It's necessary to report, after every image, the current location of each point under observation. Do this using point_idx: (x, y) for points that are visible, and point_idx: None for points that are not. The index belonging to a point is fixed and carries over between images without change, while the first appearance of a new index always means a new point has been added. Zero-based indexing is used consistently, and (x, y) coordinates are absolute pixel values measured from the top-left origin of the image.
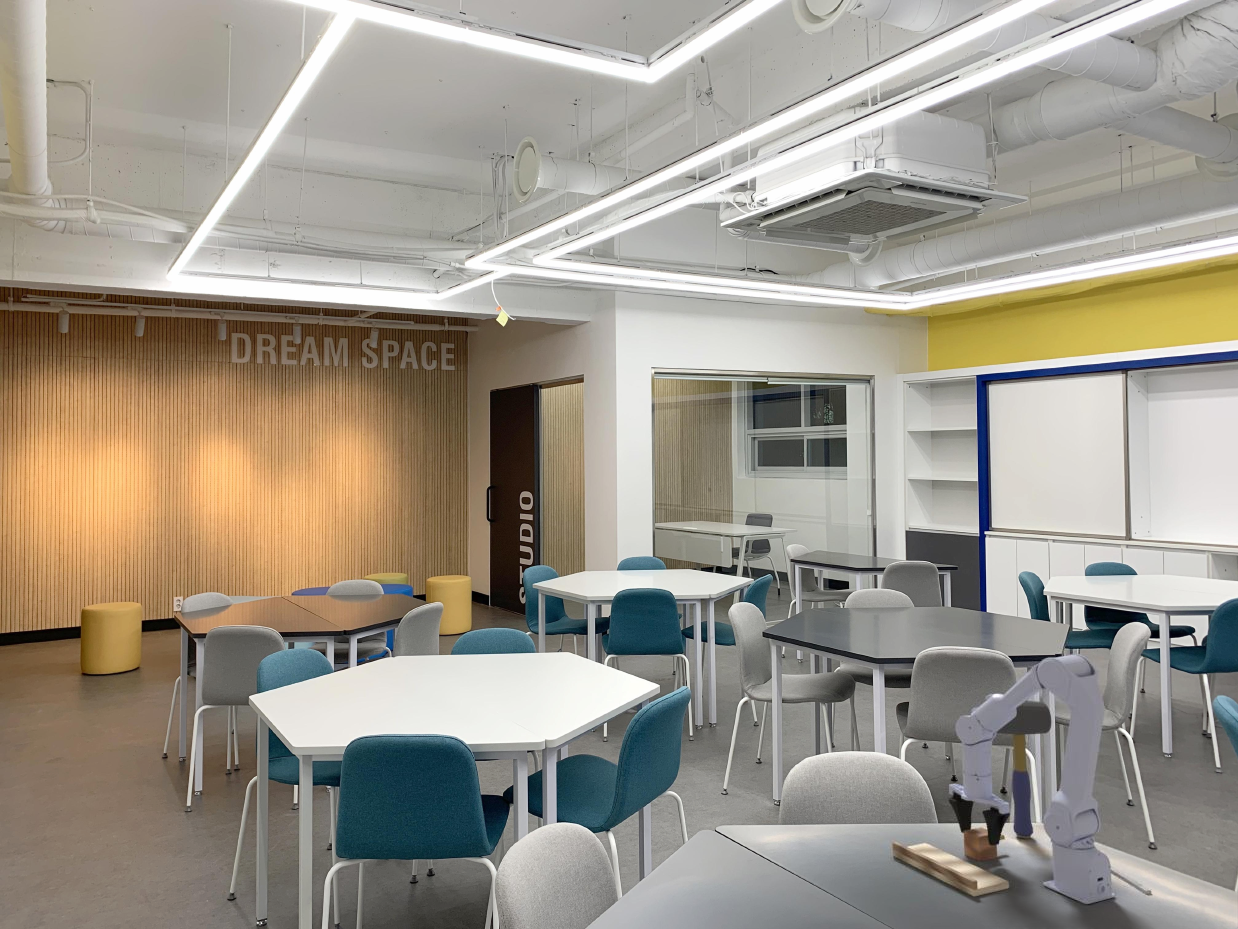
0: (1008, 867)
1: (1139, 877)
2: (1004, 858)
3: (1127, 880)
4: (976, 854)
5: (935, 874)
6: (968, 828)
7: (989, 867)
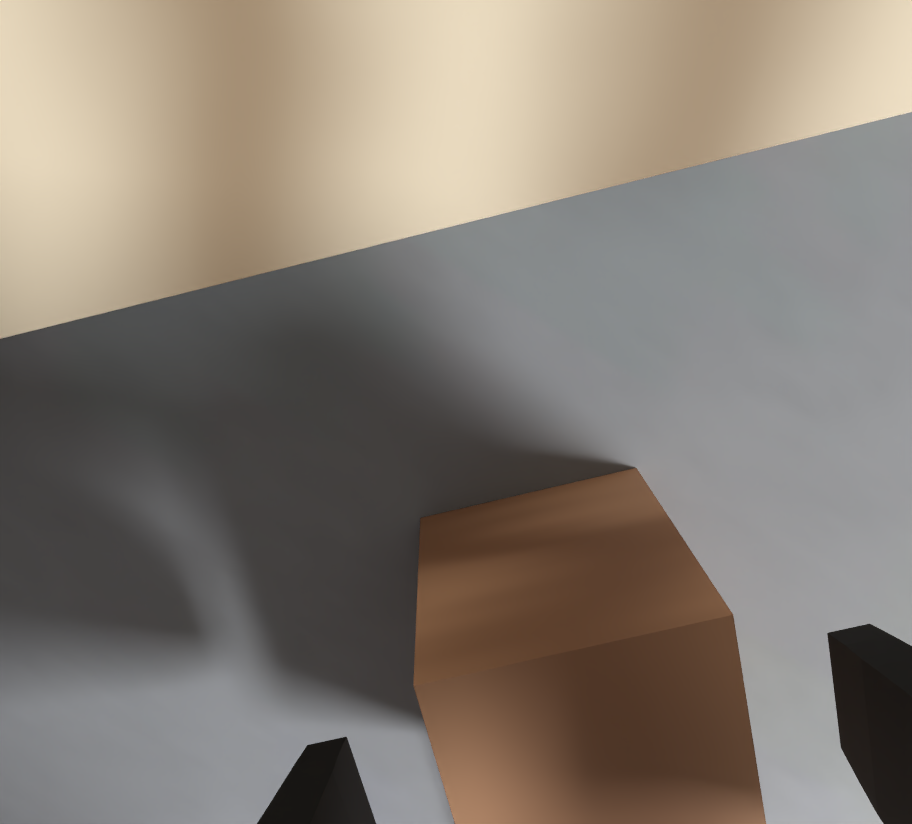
0: (224, 707)
1: None
2: None
3: None
4: (459, 538)
5: None
6: (866, 759)
7: (249, 531)
